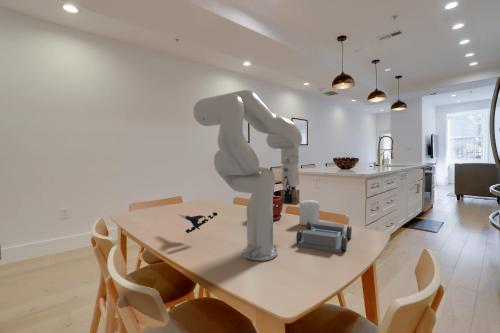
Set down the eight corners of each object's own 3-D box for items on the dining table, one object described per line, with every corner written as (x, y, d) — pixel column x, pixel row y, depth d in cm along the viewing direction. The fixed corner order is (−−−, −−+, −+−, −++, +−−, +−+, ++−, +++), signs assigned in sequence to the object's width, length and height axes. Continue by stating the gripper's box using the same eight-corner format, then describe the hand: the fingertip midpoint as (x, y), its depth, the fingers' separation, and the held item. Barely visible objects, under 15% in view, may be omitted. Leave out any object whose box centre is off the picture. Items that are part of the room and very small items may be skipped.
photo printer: (317, 222, 128) (317, 199, 127) (320, 224, 124) (320, 200, 123) (298, 223, 127) (298, 199, 126) (301, 226, 122) (300, 201, 122)
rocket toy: (187, 219, 96) (162, 210, 113) (188, 235, 96) (163, 223, 113) (218, 212, 106) (190, 205, 123) (218, 227, 106) (191, 217, 123)
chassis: (344, 254, 88) (344, 239, 88) (295, 245, 97) (295, 232, 96) (352, 235, 107) (352, 223, 107) (310, 229, 116) (310, 218, 116)
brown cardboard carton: (296, 205, 105) (296, 191, 104) (280, 203, 108) (280, 190, 108) (299, 203, 109) (299, 189, 108) (284, 201, 112) (284, 188, 112)
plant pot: (286, 220, 132) (286, 198, 132) (262, 222, 130) (262, 200, 129) (279, 214, 145) (279, 194, 144) (257, 216, 143) (257, 195, 142)
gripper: (291, 161, 98) (292, 206, 99) (303, 159, 113) (304, 199, 114) (274, 161, 102) (274, 204, 103) (288, 159, 116) (288, 198, 117)
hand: (290, 201), depth 108 cm, fingers closed on brown cardboard carton, 4 cm apart
